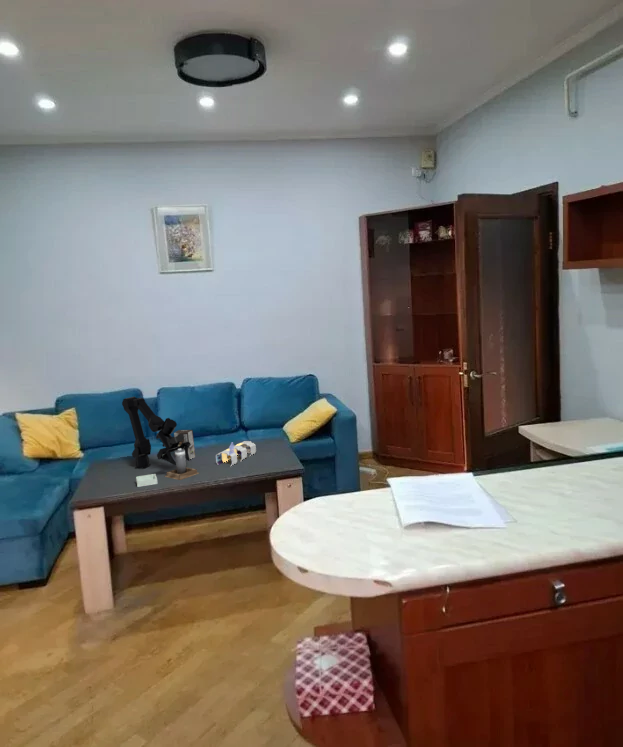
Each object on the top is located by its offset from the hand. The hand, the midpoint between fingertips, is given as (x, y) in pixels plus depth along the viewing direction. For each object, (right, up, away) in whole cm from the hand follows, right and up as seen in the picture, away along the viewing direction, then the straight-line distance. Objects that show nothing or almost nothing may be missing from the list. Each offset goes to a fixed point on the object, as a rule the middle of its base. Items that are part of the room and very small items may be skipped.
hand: (182, 462), depth 306 cm
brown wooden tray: (-1, -7, +2) cm, 7 cm away
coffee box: (-6, -3, +35) cm, 36 cm away
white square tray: (-16, -9, -8) cm, 20 cm away
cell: (-1, -7, +2) cm, 7 cm away
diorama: (+25, -3, +25) cm, 36 cm away
